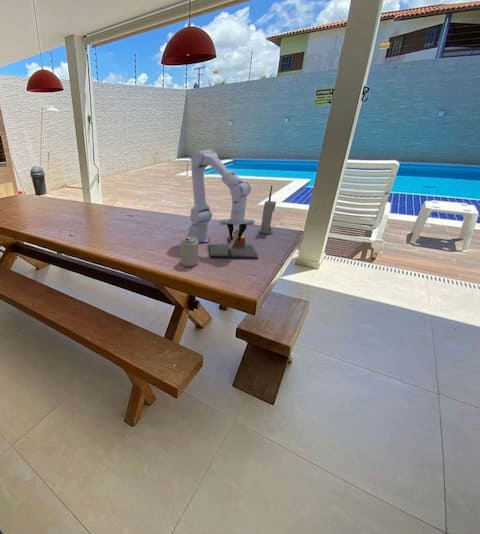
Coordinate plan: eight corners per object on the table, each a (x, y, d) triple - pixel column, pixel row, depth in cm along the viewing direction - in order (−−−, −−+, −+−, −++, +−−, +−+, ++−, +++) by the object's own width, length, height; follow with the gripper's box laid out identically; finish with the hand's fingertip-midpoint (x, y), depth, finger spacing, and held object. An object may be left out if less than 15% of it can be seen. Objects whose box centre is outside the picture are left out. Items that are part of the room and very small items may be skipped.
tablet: (210, 257, 139) (210, 255, 139) (208, 246, 152) (208, 244, 151) (257, 258, 136) (257, 256, 135) (251, 247, 148) (251, 244, 147)
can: (177, 260, 138) (178, 235, 133) (194, 259, 139) (195, 234, 133) (182, 267, 132) (183, 241, 126) (199, 266, 132) (201, 240, 127)
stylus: (227, 249, 143) (236, 230, 138) (227, 248, 144) (235, 229, 139) (230, 250, 143) (239, 231, 138) (230, 249, 144) (239, 230, 139)
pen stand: (231, 245, 151) (232, 237, 149) (228, 237, 160) (229, 230, 159) (244, 245, 150) (245, 237, 148) (240, 238, 159) (241, 230, 158)
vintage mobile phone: (270, 234, 162) (278, 186, 151) (260, 233, 164) (267, 185, 153) (271, 232, 164) (279, 184, 154) (261, 231, 167) (268, 184, 156)
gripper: (221, 213, 133) (219, 242, 139) (257, 213, 130) (253, 243, 136) (220, 209, 139) (217, 237, 145) (254, 208, 136) (250, 237, 142)
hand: (234, 239), depth 141 cm, fingers closed on stylus, 3 cm apart
